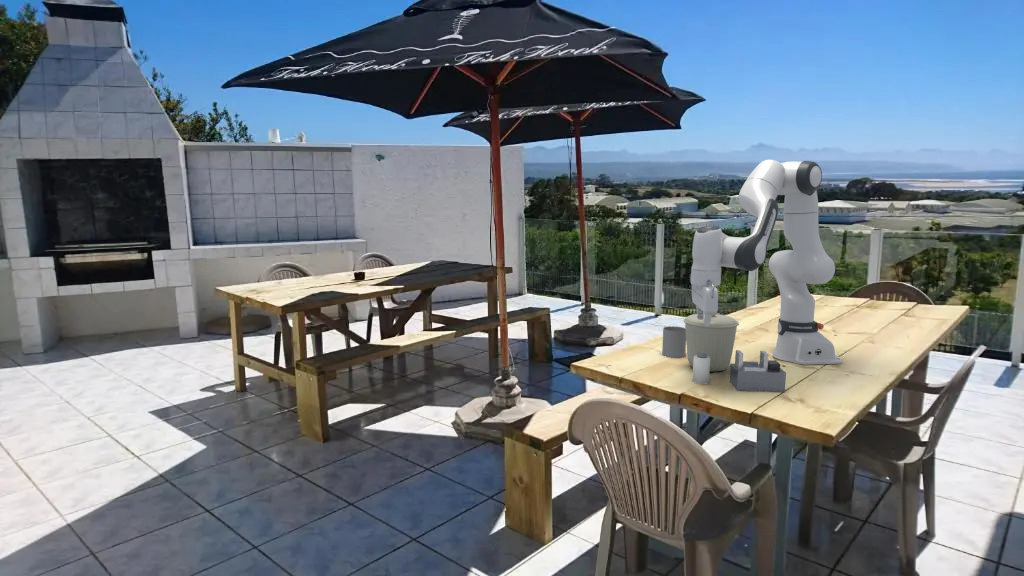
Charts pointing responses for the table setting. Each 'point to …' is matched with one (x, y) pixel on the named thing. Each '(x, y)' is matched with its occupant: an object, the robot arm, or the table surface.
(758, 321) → the table surface
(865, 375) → the table surface
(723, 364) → the canister
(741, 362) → the grey holder stand
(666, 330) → the cup
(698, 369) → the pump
